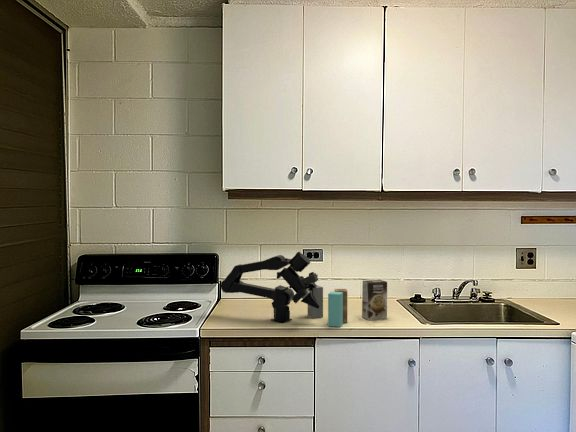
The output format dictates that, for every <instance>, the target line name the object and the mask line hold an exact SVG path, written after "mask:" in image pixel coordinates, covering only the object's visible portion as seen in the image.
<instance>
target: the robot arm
mask: <svg viewBox="0 0 576 432" xmlns="http://www.w3.org/2000/svg"><path fill="white" fill-rule="evenodd" d="M310 264H311V260H310V258H309V257H307V256H306V255H305V254H304V253H302V252H300V251H297V252H296V253H295V255H294V256H293V257H292V258H288V257H287V258H286V257H285V256H284V255H282V254H278V255H275V256H272V257H270V258H267V259H264V260H260V261H259V260H258V261H256V262H255V261H254V262H248V263H244V264H240V263H239V264H237V265H235V266H233V268H232V270H231V271H230V272H229V274H228V275H227V276H226V277H225V279H223V280H222V281H221V282H220V289H221V291H222V292H223V293H225V294H235V293H236V294H238V293H242V294H247V295H252V296H257V297H262V298H266V299H271V300H272V302H271V306H272V308H273V318H272V319H270V321H271V322H276V323H280V324H285V323H287V322H290V321H291V322H292V320H293V319H292V318H291V310H290V306H289V305H290V304H291V303H292V302H293V303H294V304H297V303H298V302H299V301H300V302H301V303H304V304H306V305H307V306H308V305H311V306H313V307H315V308H317V309H318V308H319V307H320V306H319V304H318V302H317V300H316V298H315V296H314V291H315V289H314V290H312V288H316V287H317V285H318V284H317V282H319V277H318V274H317V273H316V272H314V271H312V272H308V276H306V277H304V276H303V275H299V274H298V272H299V273H302V272H303V271H304V270H305V269H306V268H307V267H309V265H310ZM287 266H288V267H287ZM281 269H282V270H281ZM264 270H266V271H277V272H276V279H277V280H279V279H280V278H282V279H283V280H284V281H285V282H286V283H287V284H288V285H289V286H284V285H281V284H280V285H278V286H275V287H274V288H272V287H267V286H262V285H256V284H253V283H247V282H243V281H242V280H241V279H242V276H243V274H246V273H251V272H257V271H264ZM278 270H280V271H278ZM311 290H312V291H311Z"/></svg>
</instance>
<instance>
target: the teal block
mask: <svg viewBox="0 0 576 432" xmlns="http://www.w3.org/2000/svg"><path fill="white" fill-rule="evenodd" d="M327 298H328V299H327V309H328V310H327V312H328V313H327V315H328V316H327V326H328V327H337V328H341V327H342V325H343V324H344V322H343V292H335V291H330V292H329V293H328V294H327Z"/></svg>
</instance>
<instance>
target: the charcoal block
mask: <svg viewBox="0 0 576 432" xmlns="http://www.w3.org/2000/svg"><path fill="white" fill-rule="evenodd" d="M316 285H317V287H316V288H312V290H314V289H315V291H314V296H315V298H316V300H317V302H318V304H319V306H320V307H319V308H318V309H317V308H315V307H313V306H311V305H308V304H307V316H308V317H310V318H312V319H316V318H317V319H318V318H323V317H324V286H320V285H318V284H316ZM312 290H311V291H312Z"/></svg>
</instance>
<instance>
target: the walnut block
mask: <svg viewBox="0 0 576 432" xmlns="http://www.w3.org/2000/svg"><path fill="white" fill-rule="evenodd" d="M334 292H343V323H348V288H334Z"/></svg>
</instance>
